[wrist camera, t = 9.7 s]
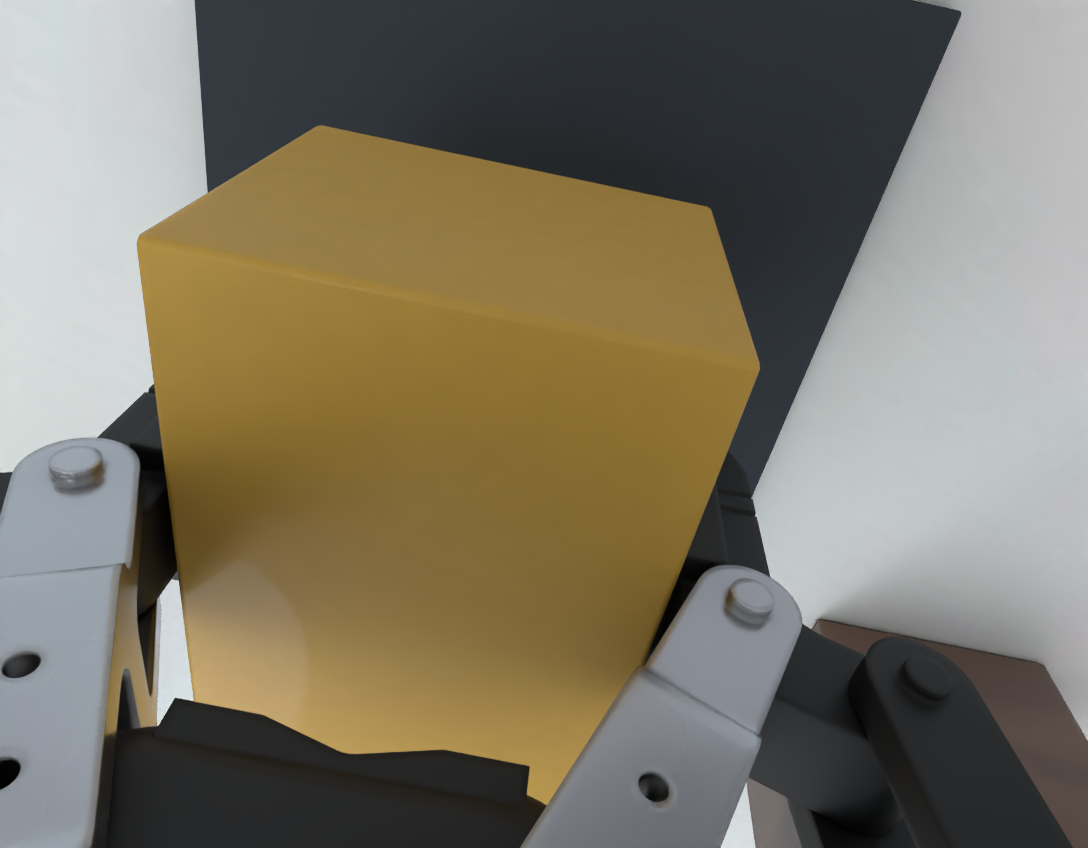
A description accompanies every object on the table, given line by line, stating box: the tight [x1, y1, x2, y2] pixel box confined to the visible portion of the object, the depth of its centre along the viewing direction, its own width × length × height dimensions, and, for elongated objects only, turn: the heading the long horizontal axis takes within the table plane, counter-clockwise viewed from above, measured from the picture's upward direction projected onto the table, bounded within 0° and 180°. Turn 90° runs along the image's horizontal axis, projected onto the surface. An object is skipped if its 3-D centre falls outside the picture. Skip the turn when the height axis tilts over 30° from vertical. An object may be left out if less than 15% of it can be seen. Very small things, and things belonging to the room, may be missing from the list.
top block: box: [137, 125, 760, 805], centre depth 11 cm, size 6×8×5 cm
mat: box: [195, 0, 961, 497], centre depth 17 cm, size 14×14×1 cm
